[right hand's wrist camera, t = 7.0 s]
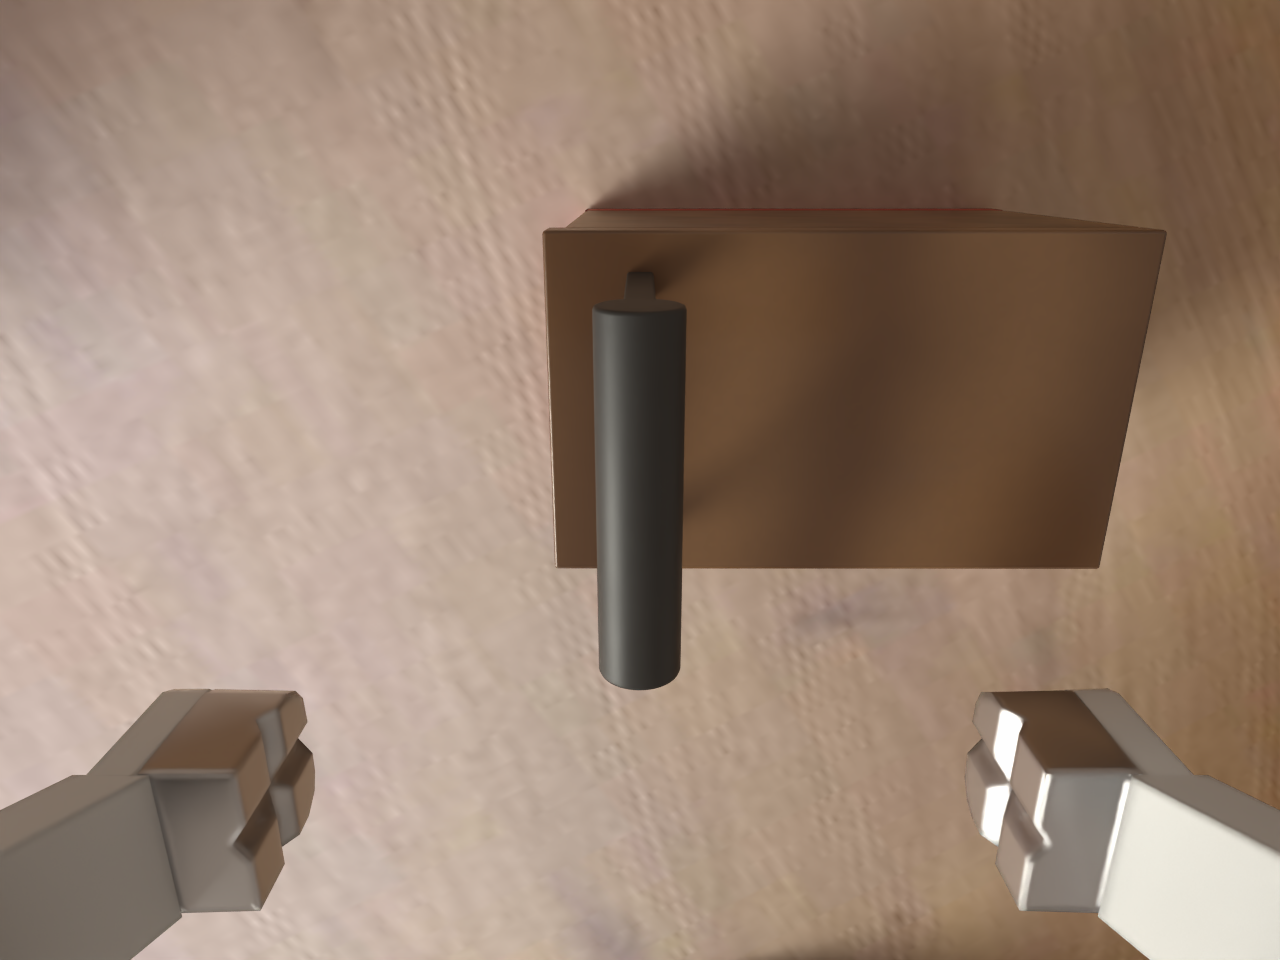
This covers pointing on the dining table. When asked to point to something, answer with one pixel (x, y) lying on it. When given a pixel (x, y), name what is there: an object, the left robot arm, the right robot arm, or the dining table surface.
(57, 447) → the dining table surface
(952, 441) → the lid
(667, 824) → the dining table surface
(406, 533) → the dining table surface
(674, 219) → the chest
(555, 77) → the dining table surface
